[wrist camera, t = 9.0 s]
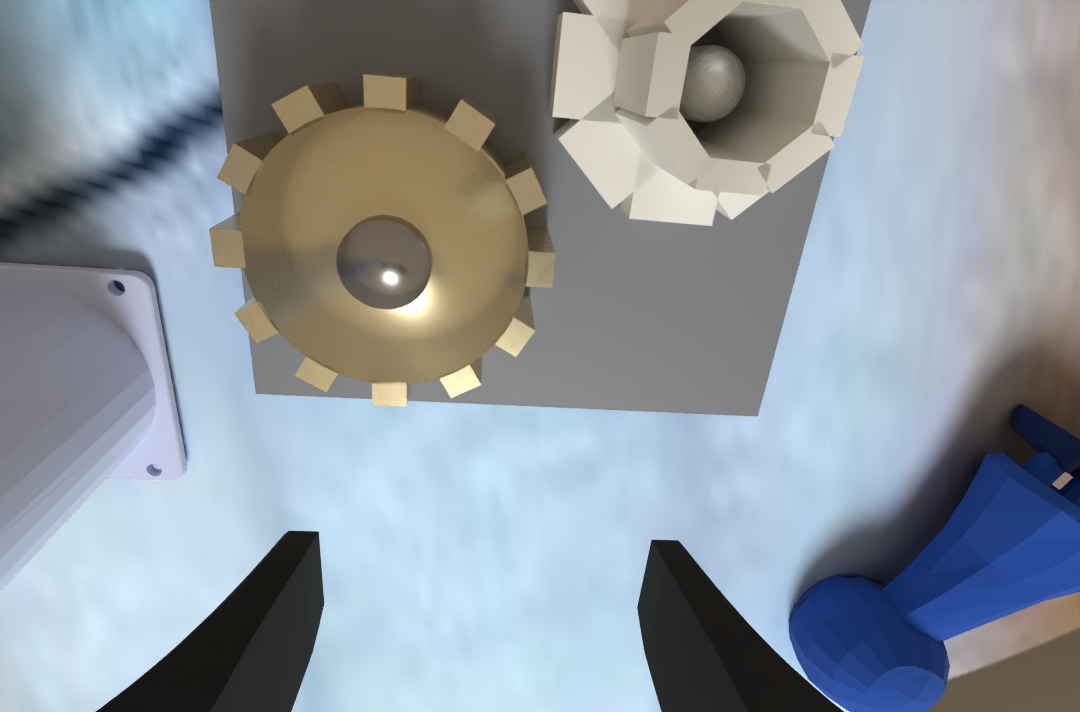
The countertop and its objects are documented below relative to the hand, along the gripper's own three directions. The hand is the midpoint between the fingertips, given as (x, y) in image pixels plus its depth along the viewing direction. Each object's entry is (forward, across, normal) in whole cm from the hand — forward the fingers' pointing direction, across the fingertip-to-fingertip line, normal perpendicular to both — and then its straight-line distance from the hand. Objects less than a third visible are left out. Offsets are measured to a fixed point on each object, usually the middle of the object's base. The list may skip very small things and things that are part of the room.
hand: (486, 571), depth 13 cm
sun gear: (+9, +3, -5) cm, 11 cm away
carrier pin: (+9, -5, -10) cm, 14 cm away
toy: (+10, -20, +8) cm, 23 cm away
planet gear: (+9, -5, -10) cm, 14 cm away
